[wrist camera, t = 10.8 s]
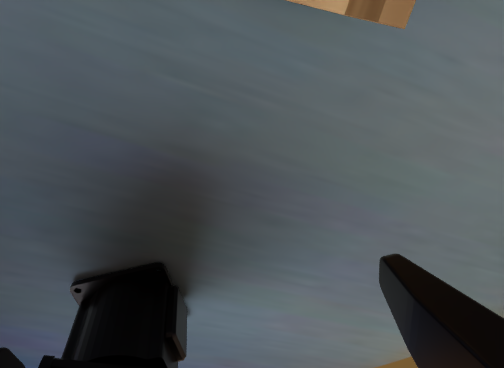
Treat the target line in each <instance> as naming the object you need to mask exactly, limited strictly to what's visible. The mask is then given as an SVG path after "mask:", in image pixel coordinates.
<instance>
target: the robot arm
mask: <svg viewBox="0 0 504 368" xmlns="http://www.w3.org/2000/svg"><path fill="white" fill-rule="evenodd" d="M157 269H159V270H160V271H157ZM379 283H380V287H381V290H382V292H383V294H384V296H385V299H386V301H387V303H388V306H389V308H390V310H391V312H392V315H393V317H394V319H395V321H396V324H397V326H398V328H399V330H400V333H401V335H402V337H403V339H404V342H405V344H406V346H407V348H408V350H409V352H410V354H411V356H412V358H413V359H414V361H415V363H416V365H417V366H418V368H504V318H502V317H501V316H499V315H497V314H496V313H494V312H492V311H491V310H489V309H488V308H486V307H484V306H483V305H481V304H479V303H478V302H476V301H475V300H473V299H471V298H470V297H468V296H466V295H465V294H463V293H462V292H460V291H458V290H457V289H455V288H453V287H452V286H450V285H449V284H447V283H445V282H444V281H442V280H440V279H439V278H437V277H436V276H434V275H432V274H431V273H429V272H427V271H426V270H424V269H423V268H421V267H419V266H418V265H416V264H414V263H413V262H411V261H410V260H408V259H406V258H405V257H403V256H401V255H400V254H391V255H387V256H383V257H381V258H380V264H379ZM78 288H80V289H78ZM70 292H71V294H72V295H73V297H74V299H75V300H76V302H77V303H78V305H79V309H78V312H77V315H76V318H75V320H74V323H73V326H72V329H71V332H70V335H69V338H68V341H67V343H66V346H65V349H64V352H63V355H62V358H61V359H59V358H54V357H55V356H47V355H44V356H43V358H42V360H41V362H40V365H39V367H38V368H178V361H182V360H184V359H185V357H186V345H187V307H186V305H185V302H184V300H183V297H182V295H181V292H180V290H179V288H178V287H177V286H176V285H174V286H173V283H172V281H171V278H170V276H169V273H168V271H167V269H166V266H165V265H164V264H162V263H153V264H149V265H145V266H140V267H136V268H132V269H127V270H123V271H118V272H114V273H110V274H105V275H101V276H97V277H92V278H88V279H83V280H79V281H75V282H73V283H72V285H71V288H70ZM0 368H25V366H24V365H23V363H22V362H21V361H20V360H19V359H18V358H17V357H16V356H15V355H14V354H13V353H12V352H11V351H10V350H9V349H7V348H4V347H2V348H0Z"/></svg>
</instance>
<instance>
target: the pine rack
mask: <svg viewBox="0 0 504 368" xmlns="http://www.w3.org/2000/svg"><path fill="white" fill-rule="evenodd" d="M286 1H290V2H294V3H298V4H302V5H306V6H310V7H314V8H318V9H322V10H326V11H330V12H334V13H338V14H342V15H346V16H350V17H354V18H358V19H362V20H367V21H371V22H375V23H380V24H384V25H389V26H393V27H397V28H402V29H405V27H406V24H407V22H408V19H409V17H410V14H411V12H412V9H413V6H414V4H415V1H416V0H286Z"/></svg>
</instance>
